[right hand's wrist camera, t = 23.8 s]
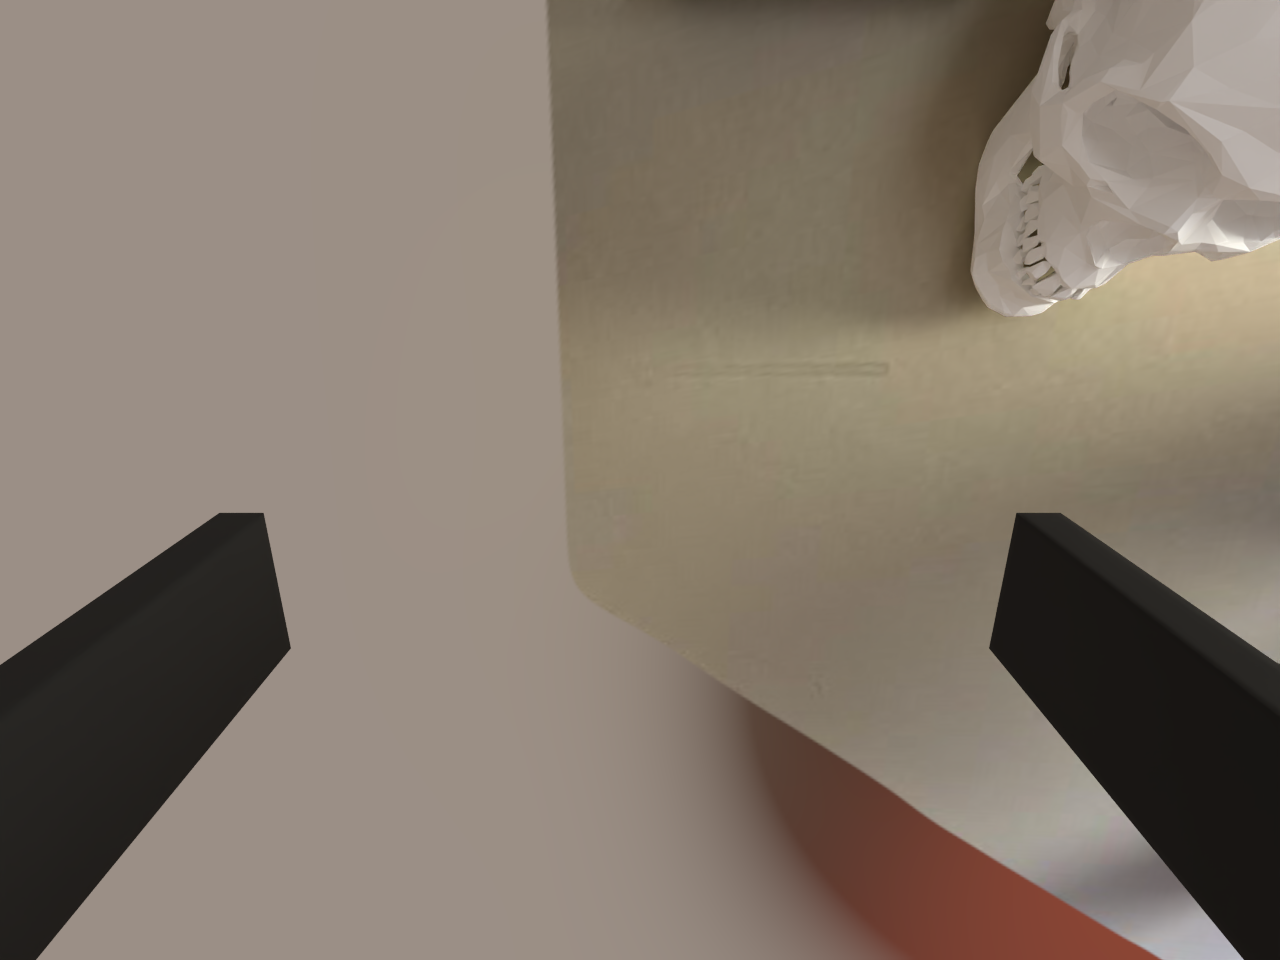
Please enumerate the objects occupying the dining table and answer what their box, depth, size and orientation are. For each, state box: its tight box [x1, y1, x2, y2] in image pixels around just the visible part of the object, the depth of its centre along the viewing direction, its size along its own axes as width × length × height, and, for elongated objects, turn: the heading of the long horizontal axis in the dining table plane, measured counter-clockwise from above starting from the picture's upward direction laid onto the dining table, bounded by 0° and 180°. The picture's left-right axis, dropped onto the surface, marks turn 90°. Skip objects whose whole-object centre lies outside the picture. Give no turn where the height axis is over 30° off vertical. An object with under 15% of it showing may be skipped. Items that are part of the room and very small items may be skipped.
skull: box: [970, 0, 1280, 317], centre depth 28 cm, size 13×22×16 cm, turn 158°
